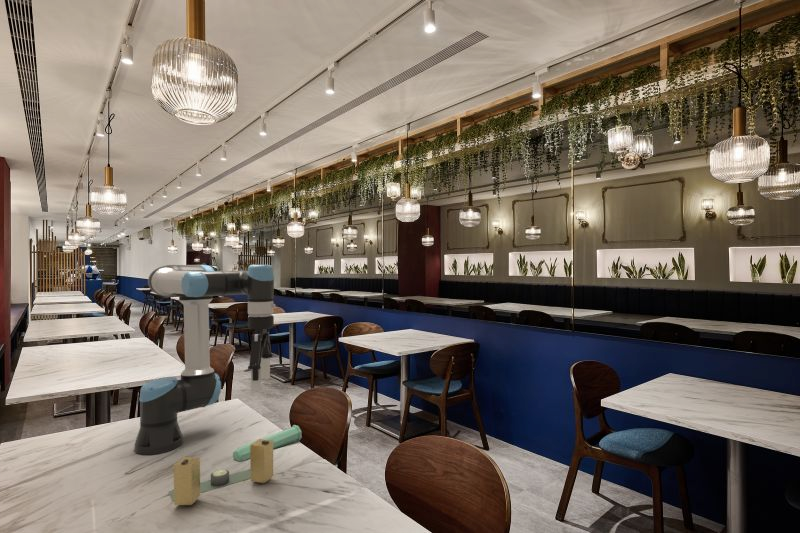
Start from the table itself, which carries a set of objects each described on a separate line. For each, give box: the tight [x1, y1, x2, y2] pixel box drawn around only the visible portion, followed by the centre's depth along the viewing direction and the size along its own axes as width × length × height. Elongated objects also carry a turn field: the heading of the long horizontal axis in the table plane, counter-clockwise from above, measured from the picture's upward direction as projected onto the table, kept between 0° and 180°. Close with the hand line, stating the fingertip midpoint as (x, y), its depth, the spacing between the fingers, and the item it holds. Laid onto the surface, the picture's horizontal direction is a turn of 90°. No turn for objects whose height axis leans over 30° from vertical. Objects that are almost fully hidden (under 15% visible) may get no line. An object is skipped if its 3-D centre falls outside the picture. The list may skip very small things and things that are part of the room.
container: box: [232, 424, 303, 462], centre depth 153 cm, size 6×6×25 cm
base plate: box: [168, 468, 251, 502], centre depth 126 cm, size 12×26×4 cm, turn 126°
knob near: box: [173, 456, 201, 507], centre depth 117 cm, size 5×5×12 cm
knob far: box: [249, 438, 274, 484], centre depth 129 cm, size 5×5×12 cm
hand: (261, 384), depth 134 cm, fingers open, 13 cm apart
